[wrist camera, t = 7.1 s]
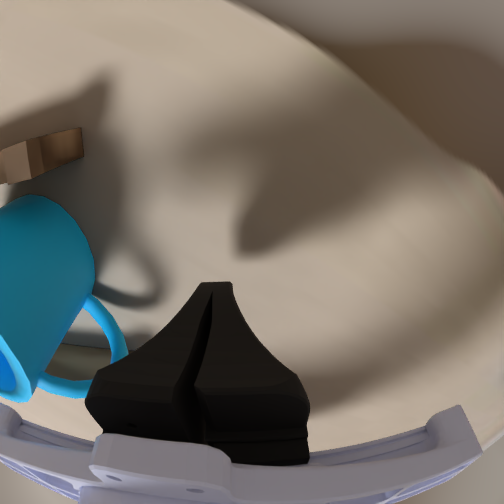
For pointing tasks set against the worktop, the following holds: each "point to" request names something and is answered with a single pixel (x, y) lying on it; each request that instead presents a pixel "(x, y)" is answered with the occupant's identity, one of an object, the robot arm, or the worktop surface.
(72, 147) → the wooden crate frame
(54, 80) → the worktop surface
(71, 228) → the mug
